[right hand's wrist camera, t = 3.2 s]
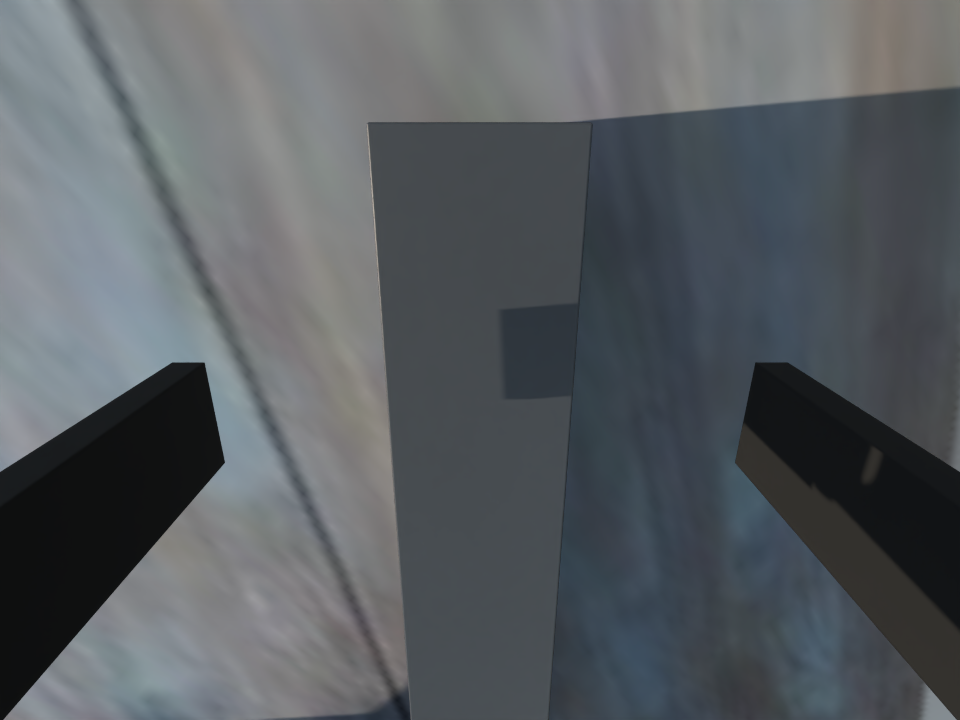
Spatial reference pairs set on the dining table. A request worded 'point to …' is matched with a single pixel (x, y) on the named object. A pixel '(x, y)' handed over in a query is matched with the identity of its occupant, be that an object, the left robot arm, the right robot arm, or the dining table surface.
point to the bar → (479, 396)
